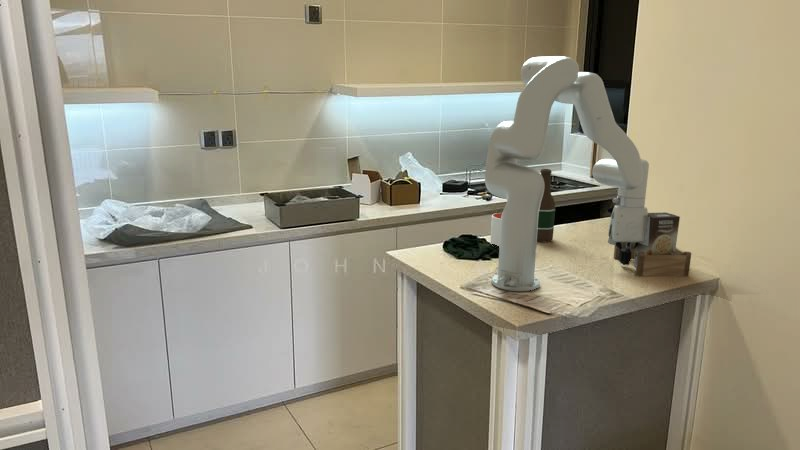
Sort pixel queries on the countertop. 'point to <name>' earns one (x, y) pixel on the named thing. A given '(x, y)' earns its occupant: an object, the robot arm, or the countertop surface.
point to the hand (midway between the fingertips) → (624, 263)
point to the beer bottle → (546, 210)
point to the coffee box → (659, 235)
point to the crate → (660, 263)
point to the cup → (496, 228)
